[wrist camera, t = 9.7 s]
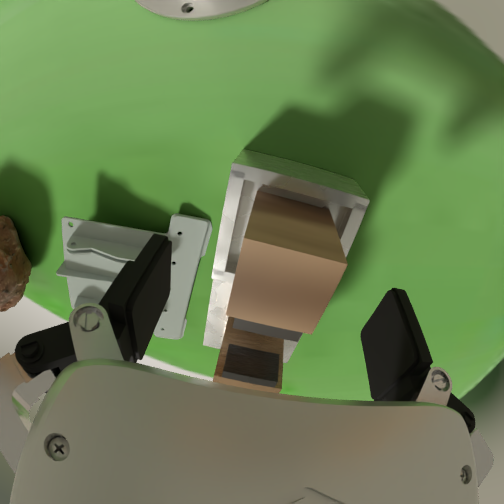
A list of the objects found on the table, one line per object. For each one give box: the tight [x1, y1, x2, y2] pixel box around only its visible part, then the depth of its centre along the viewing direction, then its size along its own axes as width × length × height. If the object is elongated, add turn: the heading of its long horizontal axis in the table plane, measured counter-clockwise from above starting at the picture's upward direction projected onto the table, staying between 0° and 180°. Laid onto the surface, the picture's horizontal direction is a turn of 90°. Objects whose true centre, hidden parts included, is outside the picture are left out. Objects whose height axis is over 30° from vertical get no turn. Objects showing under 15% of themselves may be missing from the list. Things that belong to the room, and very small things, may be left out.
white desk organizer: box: [203, 149, 370, 393], centre depth 19 cm, size 17×8×9 cm, turn 168°
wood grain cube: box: [226, 190, 348, 342], centre depth 16 cm, size 5×5×6 cm
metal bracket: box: [56, 214, 212, 339], centre depth 24 cm, size 14×6×15 cm
